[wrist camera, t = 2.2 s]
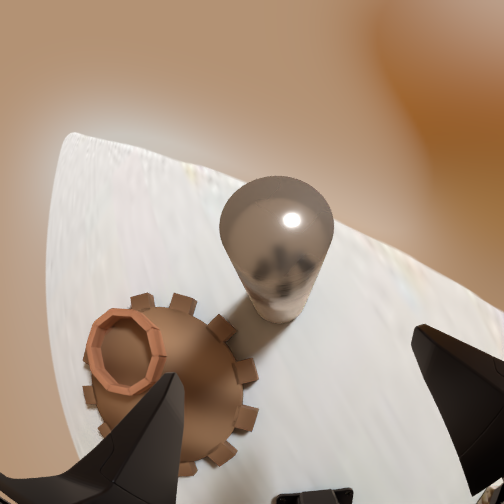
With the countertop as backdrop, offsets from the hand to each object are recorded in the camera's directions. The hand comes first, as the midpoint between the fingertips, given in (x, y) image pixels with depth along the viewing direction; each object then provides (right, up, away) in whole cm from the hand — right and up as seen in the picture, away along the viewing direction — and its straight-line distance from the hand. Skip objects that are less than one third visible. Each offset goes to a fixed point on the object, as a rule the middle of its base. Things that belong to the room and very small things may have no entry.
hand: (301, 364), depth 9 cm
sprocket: (-9, -8, +11) cm, 17 cm away
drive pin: (+1, 0, +14) cm, 13 cm away
